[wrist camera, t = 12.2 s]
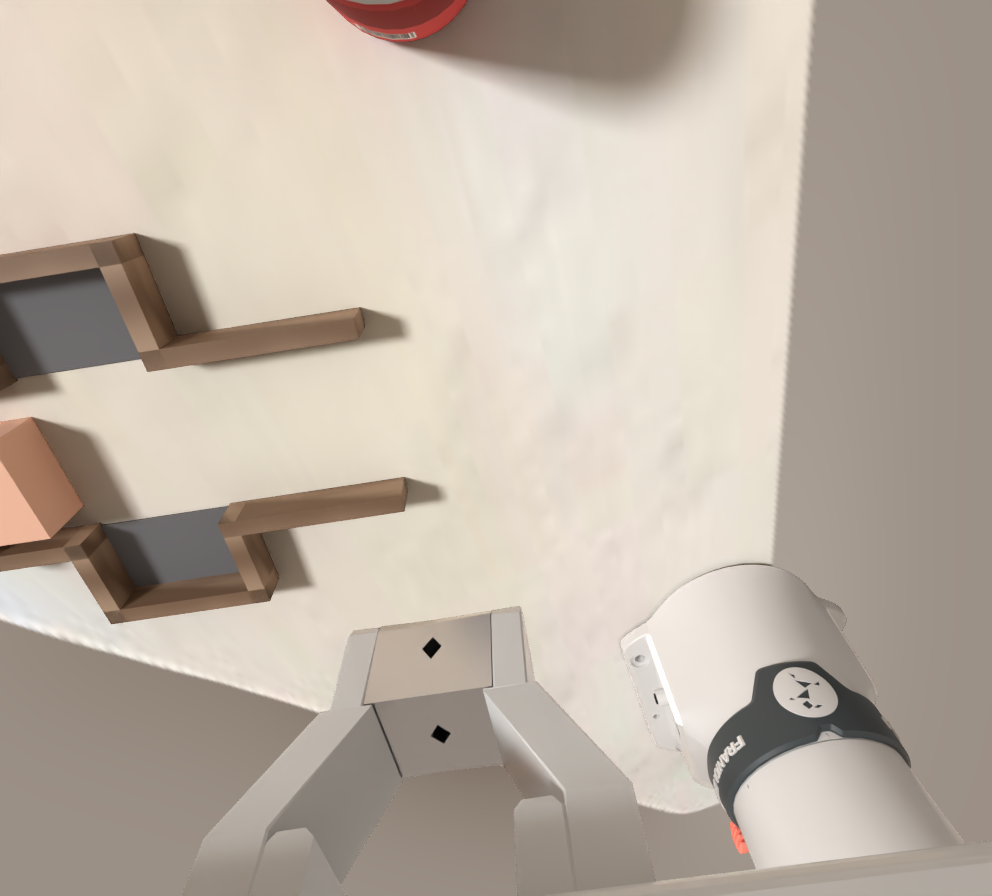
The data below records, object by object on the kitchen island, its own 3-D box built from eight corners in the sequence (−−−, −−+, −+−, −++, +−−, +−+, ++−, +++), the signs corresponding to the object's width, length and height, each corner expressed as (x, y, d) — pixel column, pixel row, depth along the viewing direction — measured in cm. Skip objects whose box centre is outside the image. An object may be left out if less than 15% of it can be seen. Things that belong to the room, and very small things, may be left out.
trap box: (424, 556, 44) (421, 593, 41) (33, 614, 45) (-2, 654, 42) (332, 201, 32) (317, 209, 29) (-199, 286, 33) (-278, 305, 30)
